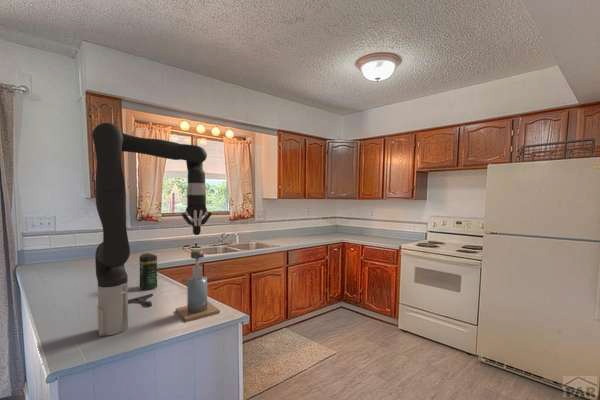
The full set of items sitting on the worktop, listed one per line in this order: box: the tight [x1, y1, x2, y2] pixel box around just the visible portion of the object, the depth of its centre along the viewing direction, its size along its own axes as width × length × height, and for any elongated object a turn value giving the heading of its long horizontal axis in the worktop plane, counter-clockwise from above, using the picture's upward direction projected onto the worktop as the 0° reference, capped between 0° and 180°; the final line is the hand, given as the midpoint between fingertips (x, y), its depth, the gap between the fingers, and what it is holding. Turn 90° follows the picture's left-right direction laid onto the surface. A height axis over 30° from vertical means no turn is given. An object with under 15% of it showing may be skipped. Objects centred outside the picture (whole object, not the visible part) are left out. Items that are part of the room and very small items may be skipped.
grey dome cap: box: [190, 250, 205, 268], centre depth 121 cm, size 5×8×7 cm, turn 39°
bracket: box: [128, 293, 154, 308], centre depth 134 cm, size 14×15×3 cm
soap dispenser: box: [175, 265, 221, 323], centre depth 123 cm, size 14×14×19 cm
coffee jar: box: [138, 252, 158, 291], centre depth 156 cm, size 10×8×19 cm
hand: (196, 234), depth 123 cm, fingers closed
